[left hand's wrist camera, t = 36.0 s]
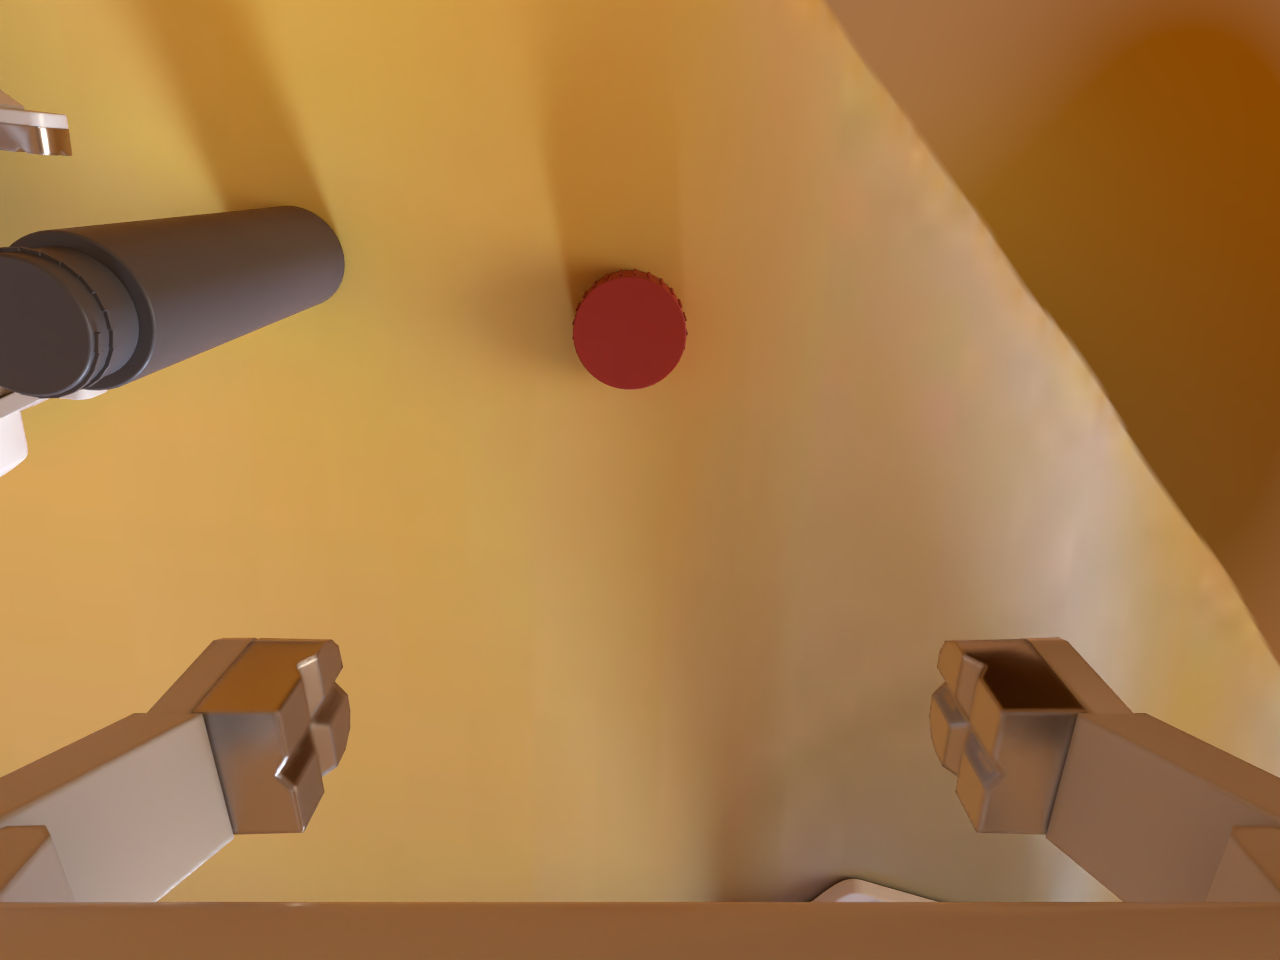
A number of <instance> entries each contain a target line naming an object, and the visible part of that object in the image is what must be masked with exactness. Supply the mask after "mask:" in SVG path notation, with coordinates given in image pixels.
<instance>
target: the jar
mask: <svg viewBox="0 0 1280 960" xmlns="http://www.w3.org/2000/svg"><path fill="white" fill-rule="evenodd" d="M343 274H344V255H343V251H342V247H341V245H340V242H339V240H338V238H337V236H336V235H335V233H334V232H333V230H332V229H331V228H330V227H329V225H328V224H327V223H326V222H324V221H323V220H322V219H321V218H320V217H318V216H317V215H315V214H314V213H312V212H310V211H308V210H305V209H302V208H299V207H293V206H281V207H272V208H262V209H252V210H242V211H232V212H222V213H212V214H203V215H193V216H183V217H173V218H163V219H153V220H143V221H134V222H124V223H114V224H104V225H94V226H84V227H74V228H65V229H55V230H45V231H38V232H35V233H31V234H28V235H26V236H24V237H22V238H20V239H18V240H17V241H15V242H14V243H13V244H12V245H11V246H10V247H2V248H0V386H1V387H3V388H5V389H8V390H10V391H13V392H16V393H20V394H21V395H26V396H32V397H37V398H39V399H44V398H60V397H63V396H66V395H69V394H72V393H75V392H77V391H78V390H81V389H85V390H109V389H113V388H117V387H120V386H122V385H125V384H127V383H130V382H132V381H134V380H137V379H139V378H142V377H144V376H146V375H149V374H151V373H154V372H156V371H158V370H161V369H163V368H166V367H168V366H170V365H173V364H175V363H178V362H180V361H183V360H185V359H187V358H190V357H192V356H195V355H197V354H199V353H202V352H204V351H207V350H209V349H211V348H214V347H216V346H219V345H221V344H223V343H226V342H228V341H231V340H233V339H235V338H238V337H240V336H243V335H245V334H248V333H250V332H252V331H255V330H257V329H260V328H262V327H264V326H267V325H269V324H272V323H274V322H276V321H279V320H281V319H284V318H286V317H288V316H291V315H293V314H296V313H298V312H300V311H303V310H305V309H308V308H310V307H312V306H315V305H317V304H320V303H322V302H324V301H326V300H327V299H329V298H330V297H331V296H332V295H333V294H334V293H335V292H336V290H337V289H338V287H339V285H340V283H341V281H342V278H343Z"/></svg>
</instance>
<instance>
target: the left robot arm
mask: <svg viewBox="0 0 1280 960" xmlns="http://www.w3.org/2000/svg"><path fill="white" fill-rule="evenodd" d="M342 668H343V664H342V660H341V655H340V650H339V646H338V645H337V644H336V643H335V642H334V641H333V640H329V639H280V638H259V639H257V638H222V639H218V640H214V641H213V642H212V643H211V644H210V645H209V646H208V647H207V648H206V649H205V650H204V651H203V652H202V653H201V655H200V656H199V657H198V658H197V659H196V660H195V661H194V662H193V663H192V664H191V665H190V667H189V668H188V669H187V670H186V671H185V672H184V673H183V674H182V675H181V676H180V677H179V679H178V680H177V681H176V682H175V683H174V684H173V685H172V686H171V687H170V688H169V689H168V691H167V692H166V693H165V694H164V695H163V696H162V697H161V698H160V699H159V700H158V701H157V703H156V704H155V705H154V706H153V707H152V708H151V709H150V710H149V711H148V712H147V713H134V714H132V715H130V716H128V717H126V718H124V719H121V720H119V721H117V722H115V723H113V724H111V725H109V726H107V727H105V728H103V729H101V730H99V731H97V732H95V733H92V734H90V735H88V736H86V737H84V738H82V739H80V740H78V741H76V742H74V743H72V744H70V745H68V746H66V747H63V748H61V749H59V750H57V751H55V752H53V753H51V754H49V755H47V756H45V757H43V758H41V759H39V760H36V761H34V762H32V763H30V764H28V765H26V766H24V767H22V768H20V769H18V770H16V771H14V772H12V773H10V774H7V775H5V776H3V777H1V778H0V960H1280V778H1278V777H1276V776H1274V775H1272V774H1270V773H1268V772H1266V771H1264V770H1262V769H1260V768H1258V767H1256V766H1254V765H1252V764H1249V763H1247V762H1245V761H1243V760H1241V759H1239V758H1237V757H1235V756H1233V755H1231V754H1229V753H1227V752H1225V751H1223V750H1221V749H1218V748H1216V747H1214V746H1212V745H1210V744H1208V743H1206V742H1204V741H1202V740H1200V739H1198V738H1196V737H1194V736H1192V735H1189V734H1187V733H1185V732H1183V731H1181V730H1179V729H1177V728H1175V727H1173V726H1171V725H1169V724H1167V723H1165V722H1163V721H1161V720H1158V719H1156V718H1154V717H1152V716H1150V715H1148V714H1146V713H1133V712H1132V711H1131V710H1130V709H1129V708H1128V707H1127V706H1126V705H1125V704H1124V703H1123V701H1122V700H1121V699H1120V698H1119V697H1118V696H1117V695H1116V694H1115V693H1114V692H1113V691H1112V689H1111V688H1110V687H1109V686H1108V685H1107V684H1106V683H1105V682H1104V681H1103V680H1102V678H1101V677H1100V676H1099V675H1098V674H1097V673H1096V672H1095V671H1094V670H1093V669H1092V668H1091V666H1090V665H1089V664H1088V663H1087V662H1086V661H1085V660H1084V659H1083V658H1082V657H1081V656H1080V654H1079V653H1078V652H1077V651H1076V650H1075V649H1074V648H1073V647H1072V646H1071V645H1070V644H1069V642H1067V641H1065V640H1063V639H1061V638H1058V637H1054V638H1026V639H1005V640H956V641H945V642H944V644H943V646H942V648H941V650H940V653H939V659H938V664H937V668H938V670H939V671H940V673H941V675H942V677H943V678H944V680H945V682H944V683H943V684H942V685H941V686H940V687H939V688H938V689H937V690H936V691H935V692H934V693H933V694H932V700H931V708H930V715H929V717H930V729H931V738H932V741H933V745H934V748H935V752H936V754H937V756H938V758H939V760H940V762H941V764H942V766H943V767H944V768H946V769H947V770H949V771H950V772H952V773H953V774H955V775H956V776H957V777H958V781H957V787H956V794H957V796H958V798H959V800H960V801H961V803H962V805H963V807H964V809H965V811H966V813H967V815H968V817H969V819H970V821H971V823H972V825H973V827H974V829H975V830H976V832H977V833H1010V834H1047V835H1046V838H1047V839H1048V840H1049V841H1050V842H1052V843H1053V844H1054V845H1055V846H1057V847H1058V848H1059V849H1060V850H1061V851H1063V852H1064V853H1065V854H1066V855H1067V856H1069V857H1070V858H1071V859H1072V860H1074V861H1075V862H1076V863H1077V864H1078V865H1080V866H1081V867H1082V868H1083V869H1084V870H1086V871H1087V872H1088V873H1089V874H1091V875H1092V876H1093V877H1094V878H1095V879H1097V880H1098V881H1099V882H1100V883H1101V884H1103V885H1104V886H1105V887H1106V888H1108V889H1109V890H1110V891H1111V892H1112V893H1114V894H1115V895H1116V896H1117V897H1118V898H1120V899H1121V900H1122V901H1123V902H937V901H934V900H930V899H927V898H923V897H920V896H916V895H913V894H909V893H905V892H902V891H898V890H895V889H891V888H888V887H884V886H881V885H877V884H874V883H870V882H867V881H863V880H859V879H847V880H844V881H841V882H839V883H837V884H835V885H834V886H832V887H831V888H829V889H828V890H826V891H825V892H824V893H822V894H821V895H820V896H818V897H817V898H816V899H814V900H813V901H811V902H157V901H158V900H159V899H161V898H162V897H163V896H164V895H165V894H167V893H168V892H169V891H170V890H171V889H173V888H174V887H175V886H176V885H178V884H179V883H180V882H181V881H182V880H184V879H185V878H186V877H187V876H189V875H190V874H191V873H192V872H193V871H195V870H196V869H197V868H198V867H199V866H201V865H202V864H203V863H204V862H206V861H207V860H208V859H209V858H210V857H212V856H213V855H214V854H215V853H217V852H218V851H219V850H220V849H221V848H223V847H224V846H225V845H226V844H227V843H229V842H230V841H231V840H232V839H234V835H233V834H268V833H303V832H304V831H305V829H306V827H307V825H308V823H309V821H310V819H311V817H312V815H313V813H314V811H315V809H316V807H317V805H318V803H319V802H320V800H321V798H322V796H323V794H324V787H323V781H322V777H323V776H324V775H325V774H327V773H328V772H330V771H331V770H333V769H334V768H336V767H337V766H338V764H339V762H340V760H341V758H342V756H343V754H344V751H345V749H346V745H347V740H348V735H349V731H350V706H349V699H348V694H347V693H346V692H345V691H344V690H343V689H342V688H341V687H340V686H339V685H338V684H337V683H336V682H335V680H336V678H337V677H338V675H339V673H340V671H341V670H342Z"/></svg>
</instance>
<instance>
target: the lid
mask: <svg viewBox="0 0 1280 960" xmlns="http://www.w3.org/2000/svg"><path fill="white" fill-rule="evenodd" d="M681 307H682V305H681V301H680V299H679V300H678V299H677V297H676V295H675V294H674V291H673V289H672V287H671V288H669V287H668V286H667V285H666V284H665V283H664V282H663V279H661V278H660V279H658V278H657V277H655V276H653V275H651V274H650V272H648V273H645V272H641V271H636V269H634V270H626V271H622V269H621V270H620V271H619V272H615V273H612V274H610V275H609V273H608V274H606V276H605V277H604V278H602V279H600V280H599V281H598V282H597V281H595V282H594V284H593V286H592V287H591V288H590V289H589V290H588V291H587V290H586V292H585V293H584V296H583V300H582V302H581V303H579V304H578V307H577V309H576V311H577V314H576V316H575V319H574V321H573V324H572V325H574V327H573V339H574V345H575V349H576V353H577V354H578V357H579V359H580V361H581V362H582V364H583V365H584V367H585V368H586V369H587V370H588V372H590V373H591V374H592V375H593V376H594V377H595V378H596V379H598V380H599V381H601V382H603V383H605V384H607V385H609V386H612V387H615V388H619V389H641V388H645V387H648V386H651V385H653V384H655V383H657V382H659V381H661V380H662V379H663V378H665V377H666V376H667V375H668V374H669V373H670V372H671V371H672V370H673V369H674V368H675V366H676V365H677V363H678V362H679V361H680V358H681V356H682V354H683V351H684V349H685V343H686V335H687V334H688V333H687V330H686V323H685V321H687V320H686V316H685V313H684V312H682V309H681Z"/></svg>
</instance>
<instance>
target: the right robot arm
mask: <svg viewBox="0 0 1280 960" xmlns="http://www.w3.org/2000/svg"><path fill="white" fill-rule="evenodd" d="M0 150H6V151H14V152H27V153H32V154H41V155H64V156H72V151H71V143H70V135H69V129H68V123H67V116H66V115H63V114H56V113H47V112H39V111H30V110H24V107H23V106H22V105H21V104H20V103H18V102H17V101H15V100H14V99H12V98H11V97H10V96H8V95H7V94H5V93H4V92H2V91H1V90H0ZM105 392H107V390H85V389H81V390H78V391H77V392H75V393H72V394H69V395H66V396H63V397H60V398H65V399H75V400H81V399H89V398H93V397H95V396H98V395H100V394H102V393H105ZM47 399H49V398H44V399H39V398H37V397H32V396H26V395H21V394H20V393H16V392H13V391H10V390H8V389H5V388H3V387H1V386H0V477H1V476H3V475H4V474H6V473H7V472H9V471H10V470H12V469H13V468H14V467H16V466H17V465H18V464H19V463H20V462H22V461H23V460H24V459H25V458H26V456H27V453H28V449H27V442H26V437H25V432H24V427H23V422H22V417H21V412H20V411H21V410H24V409H26V408H29V407H31V406H34V405H37V404H39V403H41V402H43V401H45V400H47Z"/></svg>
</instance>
